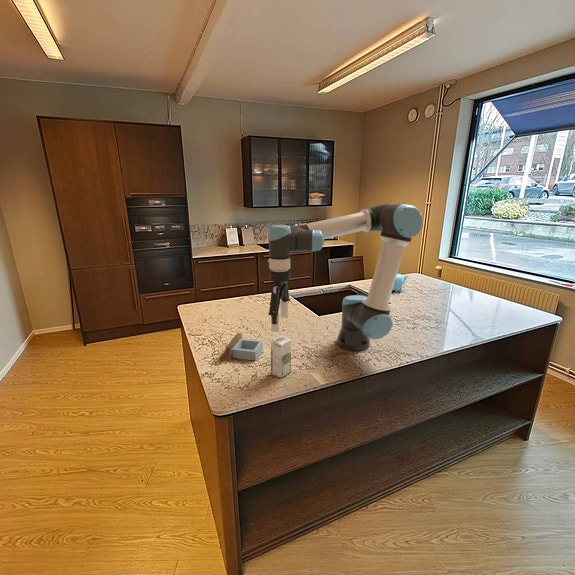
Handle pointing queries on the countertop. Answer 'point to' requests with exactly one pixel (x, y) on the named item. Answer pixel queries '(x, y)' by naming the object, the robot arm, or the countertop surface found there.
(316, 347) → the countertop surface
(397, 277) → the teapot
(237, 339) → the base
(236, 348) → the blue gray square tray
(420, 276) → the countertop surface
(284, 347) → the syrup box
